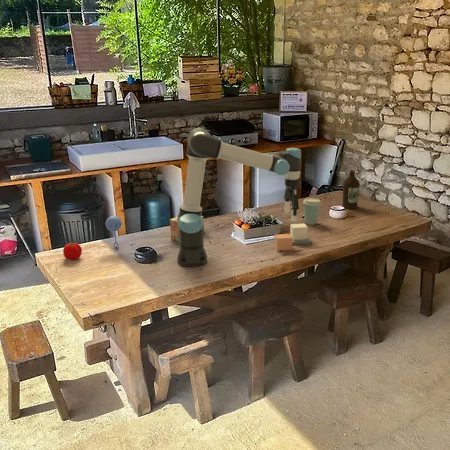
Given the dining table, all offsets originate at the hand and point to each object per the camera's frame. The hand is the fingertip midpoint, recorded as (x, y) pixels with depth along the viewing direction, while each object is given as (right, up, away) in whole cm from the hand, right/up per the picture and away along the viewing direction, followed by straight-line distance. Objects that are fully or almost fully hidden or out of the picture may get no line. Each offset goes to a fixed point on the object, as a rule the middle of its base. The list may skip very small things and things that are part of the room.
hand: (290, 216), depth 264 cm
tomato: (-114, -22, -8) cm, 116 cm away
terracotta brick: (-4, -17, 0) cm, 17 cm away
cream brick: (+6, -11, +10) cm, 16 cm away
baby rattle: (-94, -17, +5) cm, 96 cm away
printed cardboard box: (-56, -10, +21) cm, 61 cm away
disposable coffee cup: (+17, -3, +37) cm, 41 cm away
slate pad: (+6, -13, +11) cm, 17 cm away
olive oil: (+48, +7, +65) cm, 81 cm away
